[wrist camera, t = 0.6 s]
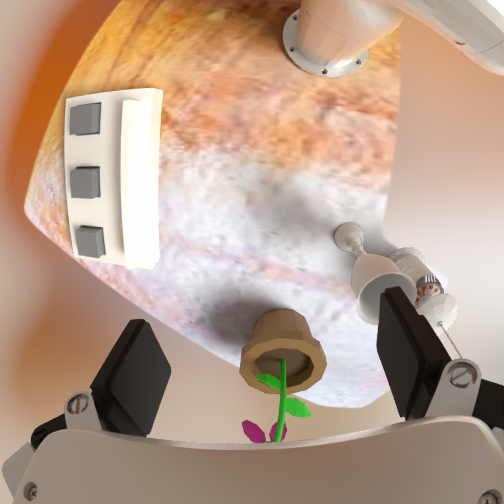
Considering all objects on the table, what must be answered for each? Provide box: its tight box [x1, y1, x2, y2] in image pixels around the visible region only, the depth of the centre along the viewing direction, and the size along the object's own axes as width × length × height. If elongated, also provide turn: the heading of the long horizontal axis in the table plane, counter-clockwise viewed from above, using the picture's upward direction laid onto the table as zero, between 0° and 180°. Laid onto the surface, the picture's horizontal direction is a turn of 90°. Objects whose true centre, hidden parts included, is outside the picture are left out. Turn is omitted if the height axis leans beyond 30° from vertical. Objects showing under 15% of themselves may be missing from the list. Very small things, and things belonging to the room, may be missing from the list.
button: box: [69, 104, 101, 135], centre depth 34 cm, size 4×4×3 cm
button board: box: [64, 88, 163, 270], centre depth 39 cm, size 28×16×8 cm, turn 174°
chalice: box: [334, 222, 417, 325], centre depth 36 cm, size 7×7×18 cm
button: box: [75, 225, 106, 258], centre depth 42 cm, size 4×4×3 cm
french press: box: [388, 248, 463, 359], centre depth 35 cm, size 10×12×25 cm
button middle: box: [70, 167, 101, 199], centre depth 38 cm, size 4×4×3 cm
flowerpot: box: [239, 309, 327, 443], centre depth 39 cm, size 14×14×30 cm
